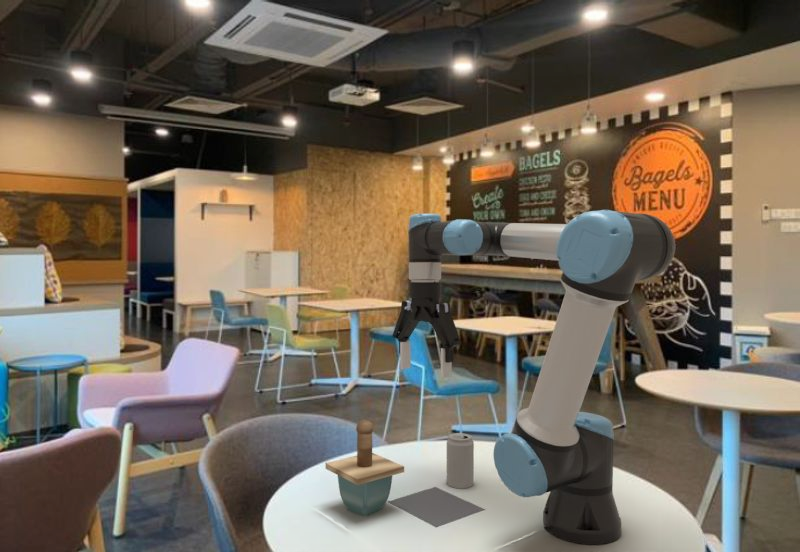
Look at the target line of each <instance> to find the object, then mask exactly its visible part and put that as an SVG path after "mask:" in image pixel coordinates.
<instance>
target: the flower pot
mask: <svg viewBox="0 0 800 552" xmlns="http://www.w3.org/2000/svg"><path fill="white" fill-rule="evenodd" d="M393 476H394V475H392V476H389V477H385V478H381V479H378V480H374V481H371V482H367V483H364V484H360V485H356V484H354V483H352V482H350V481H348V480H347V479H345V478H343V477H341V476H339V475H337V481H338V488H339V489H338V490H339V495H340V497H341V500H342V502H343V505H344V506H345V508H346V509H347V510H348V511H350V512H353V513H355V514H358V515H361V516H363V517H367V516H370V515H371V514H373V513H375V512H378V511H380V510H382V509H383V508H384V506H385V505H386V504H387V502H388V499H389V497H390V495H391V494H390V492H391V488H392V481H393Z"/></svg>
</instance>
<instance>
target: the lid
mask: <svg viewBox="0 0 800 552" xmlns="http://www.w3.org/2000/svg"><path fill="white" fill-rule="evenodd" d="M355 430H356V438H357V439H356V444H357V445H356V446H357V447H356V455H353V456H348V457H346V458H342V459H338V460H333V461H327V462H326V463H325V469H326V470H327V471H329V472H331V473H333V474H335V475H337V476H338V475H339V476H341V477H343V478H345V479H347V480H348V481H350V482H352V483H354V484H356V485H360V484H364V483H367V482H371V481H374V480H378V479H381V478H385V477H389V476H392V475H393V476H396V475H400V474H402V473H405V466H404V465H401V464H400V463H397V462H394V461H393V460H390V459H387V458H386V457H383V456H381V455H378V454H376V453H374V452H373V431H374V425H373V422H371V421H370V420H368V419H362V420H360V421H358V423H357V424H356V428H355ZM393 476H392V477H393Z"/></svg>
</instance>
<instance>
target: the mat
mask: <svg viewBox="0 0 800 552" xmlns="http://www.w3.org/2000/svg"><path fill="white" fill-rule="evenodd" d="M387 503H390V504H391V505H393V506H395V507H397V508H398V509H399V510H403V511H404V512H406V513H408V514H410V515H412V517H416V518H418V519H419V520H421V521H424V522H425V523H427V524H429V525H430V526H432V527H434V528H438V527H439V528H440V527H442V526H443V525H446V524H450V523H452V522H455V521H458V520H461V519H464V518H466V517H469V516H471V515H475V514H477V513H480V512H482V511H486V509H485V508H483V507H480V506H479V505H477V504H474V503H472V502H470V501H467V500H466V499H464V498H461V497H459V496H457V495H454V494H452V493H450V492H447V491H446V490H443V489H441V488H439V487H437V486H433V487H431V488H428V489H424V490H421V491H418V492H414V493H411V494H408V495H404V496H401V497H398V498H395V499H392V500H387Z"/></svg>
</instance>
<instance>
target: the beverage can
mask: <svg viewBox="0 0 800 552" xmlns="http://www.w3.org/2000/svg"><path fill="white" fill-rule="evenodd" d="M474 444H475V443H474V440H473V436H472V435H470V434H468V433H461V432H456V433H451V434H449V435H448V436H447V440H446V484H447V486H448V487H451V488H453V489H459V490H460V489H461V490H462V489H469V488H471V487H473V486H474V483H475V481H474V479H475V478H474V476H475V475H474V472H475V471H474V469H475V468H474V465H475V463H474V461H475V460H474V449H475V445H474Z"/></svg>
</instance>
